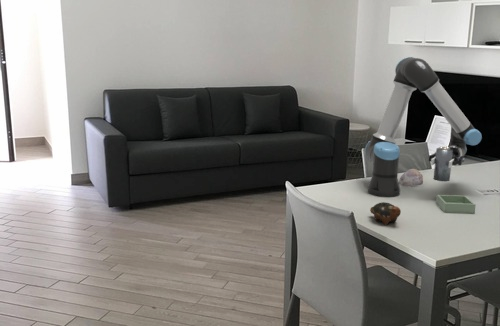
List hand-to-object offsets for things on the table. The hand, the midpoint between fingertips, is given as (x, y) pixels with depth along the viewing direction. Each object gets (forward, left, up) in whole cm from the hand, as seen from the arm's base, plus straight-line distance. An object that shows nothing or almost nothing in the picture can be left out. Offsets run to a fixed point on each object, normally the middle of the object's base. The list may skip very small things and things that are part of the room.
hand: (440, 163), depth 237 cm
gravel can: (+2, +4, -8) cm, 10 cm away
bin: (+5, -9, -18) cm, 21 cm away
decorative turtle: (-29, -29, -18) cm, 44 cm away
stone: (-4, +33, -18) cm, 38 cm away
